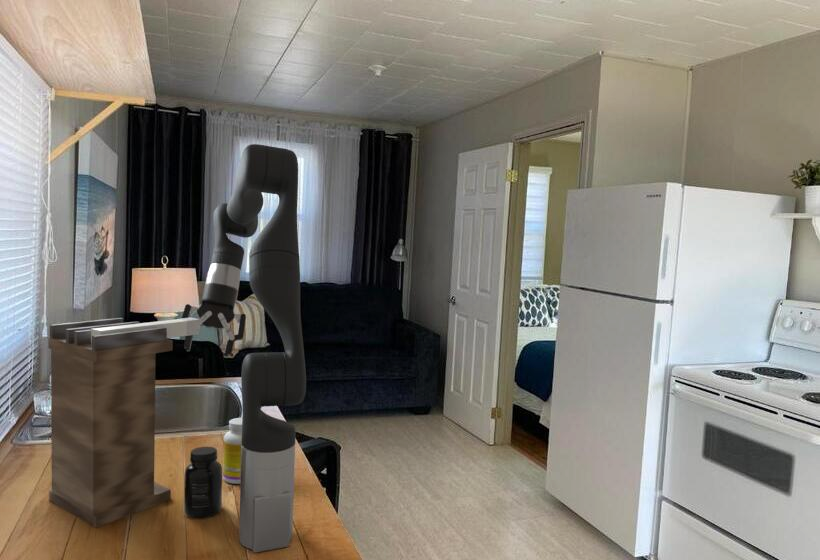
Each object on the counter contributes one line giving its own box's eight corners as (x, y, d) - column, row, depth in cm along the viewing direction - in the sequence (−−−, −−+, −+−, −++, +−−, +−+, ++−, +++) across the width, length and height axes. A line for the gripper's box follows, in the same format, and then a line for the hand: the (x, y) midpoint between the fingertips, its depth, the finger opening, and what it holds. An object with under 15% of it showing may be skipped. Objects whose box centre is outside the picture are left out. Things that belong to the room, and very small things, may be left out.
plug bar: (190, 332, 129) (190, 317, 128) (199, 334, 127) (199, 319, 127) (90, 345, 111) (90, 328, 111) (100, 347, 110) (100, 330, 109)
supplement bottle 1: (229, 508, 119) (230, 448, 118) (204, 523, 113) (205, 460, 112) (201, 500, 122) (202, 441, 121) (175, 514, 116) (176, 452, 114)
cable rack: (124, 475, 131) (125, 316, 128) (172, 498, 122) (174, 327, 119) (49, 500, 119) (48, 324, 116) (96, 527, 109) (96, 337, 106)
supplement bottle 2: (245, 486, 129) (247, 427, 128) (217, 482, 130) (218, 423, 129) (259, 474, 135) (261, 418, 134) (232, 470, 137) (233, 414, 136)
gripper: (189, 276, 139) (172, 347, 135) (252, 288, 142) (238, 357, 138) (191, 283, 146) (176, 350, 142) (252, 294, 149) (239, 360, 145)
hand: (207, 353), depth 140 cm, fingers open, 8 cm apart
